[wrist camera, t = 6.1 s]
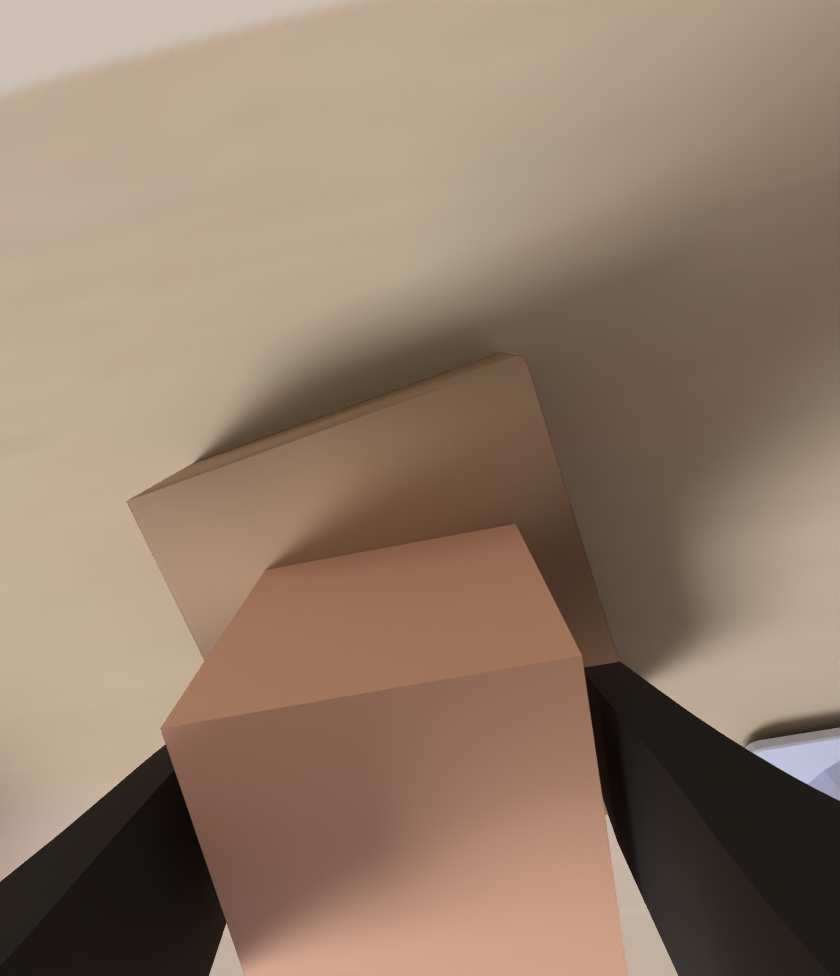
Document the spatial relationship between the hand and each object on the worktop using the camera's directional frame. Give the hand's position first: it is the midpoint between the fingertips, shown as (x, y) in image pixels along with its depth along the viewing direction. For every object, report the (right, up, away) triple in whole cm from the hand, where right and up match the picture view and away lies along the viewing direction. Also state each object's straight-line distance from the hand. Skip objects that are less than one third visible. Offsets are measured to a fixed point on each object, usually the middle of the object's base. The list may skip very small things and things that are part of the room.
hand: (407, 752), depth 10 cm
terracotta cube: (0, +1, +3) cm, 3 cm away
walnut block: (0, +2, +7) cm, 7 cm away
